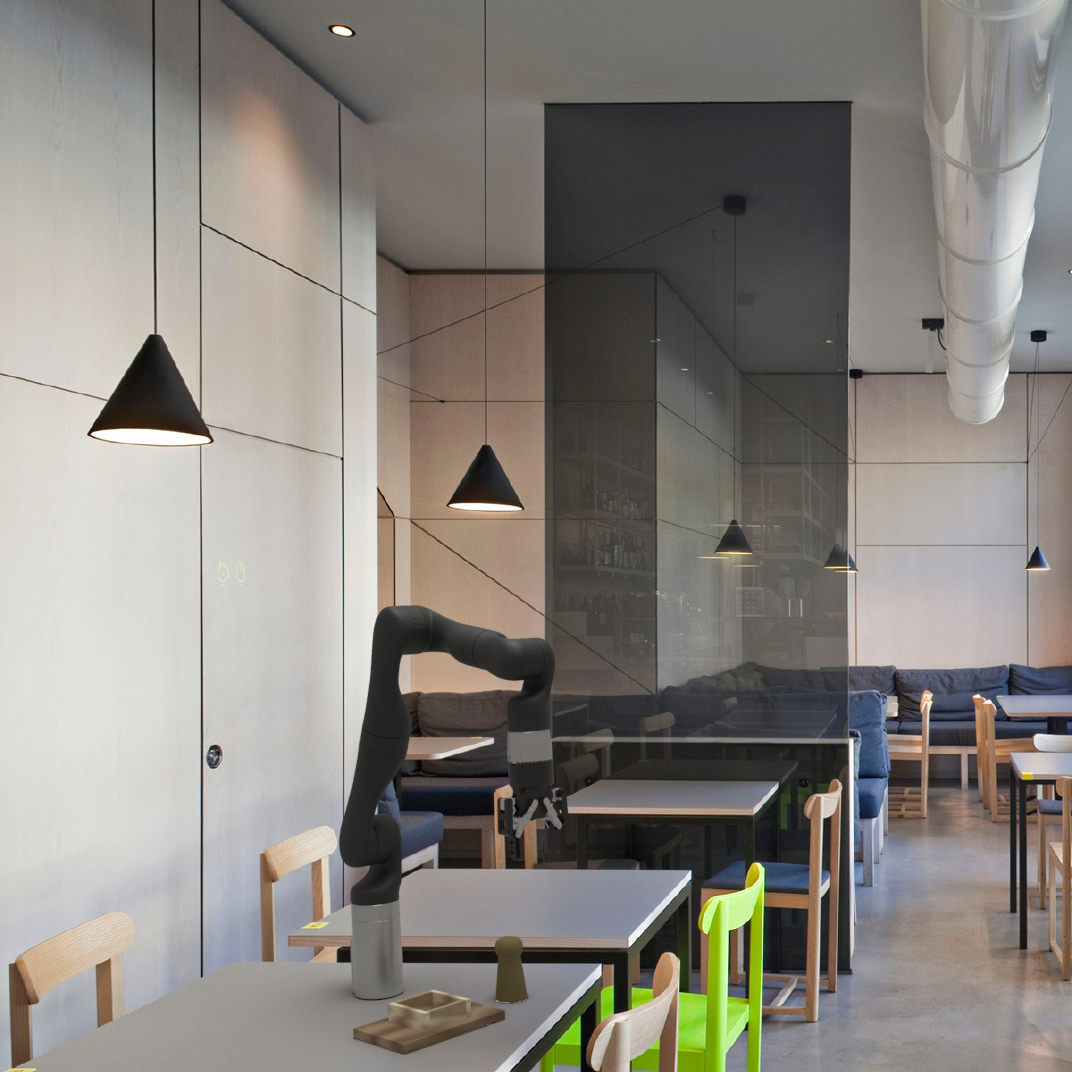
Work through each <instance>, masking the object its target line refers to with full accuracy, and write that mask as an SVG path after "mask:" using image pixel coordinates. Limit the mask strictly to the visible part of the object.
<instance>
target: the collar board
mask: <svg viewBox="0 0 1072 1072" xmlns="http://www.w3.org/2000/svg"><path fill="white" fill-rule="evenodd" d="M387 1010H388V1011H387V1012H388V1017H385V1018H382V1019H379V1020H375V1021H372V1022H370V1023H366V1024H364V1025H360V1026H357V1027H354V1028H353V1029H352V1030H353V1032H352V1034H353V1039H355V1038H356V1039H355V1040H359V1039H360V1040H359V1041H362V1040H363V1041H362V1042H365V1041H366V1042H365V1043H369V1044H372V1045H375V1046H378V1047H381V1048H384V1047H385V1049H387V1048H388V1049H387V1050H390V1051H393V1052H397V1053H400V1054H403V1055H407V1054H410V1053H414V1052H416V1051H418V1050H421V1048H422V1049H424V1047H425V1048H427V1047H430V1046H433V1045H436V1044H439V1043H441V1042H445V1041H446V1040H450V1039H453V1038H456V1037H458V1036H461V1035H464V1034H466V1033H465V1032H467V1033H469V1032H468V1031H470V1032H472V1031H473V1032H474V1031H475V1029H476V1030H478V1029H481V1028H483V1027H482V1026H484V1027H486V1026H485V1025H487V1024H490V1023H492V1022H495V1023H498V1022H500V1021H504V1020H506V1010H505V1009H502V1008H498V1007H495V1006H490V1005H485V1004H481V1003H478V1002H474V1001H471V998H469V997H463V996H461V995H456V994H451V993H450V992H449V993H448V992H445V991H440V990H436V989H431V990H430V989H429V990H427V991H424V992H420V993H417V994H415V995H411V996H409V997H405V998H402V999H399V1000H395V1001H392V1002H389V1003H387ZM503 1019H504V1020H503ZM490 1025H491V1024H490ZM487 1026H488V1025H487ZM480 1027H481V1028H480ZM463 1033H464V1034H463ZM415 1050H416V1051H415Z"/></svg>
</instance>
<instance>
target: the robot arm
mask: <svg viewBox="0 0 1072 1072" xmlns="http://www.w3.org/2000/svg"><path fill="white" fill-rule="evenodd" d="M424 653H444V654H449V655H450V656H451V657H452V658H453V659H454V660H455V661H457V662H458V663H461V664H462V665H466V666H469V667H471V668H474V669H475V668H476V669H479V670H482V671H483V670H484V671H487V672H488V673H490V675H493V676H494V677H496V678H498V679H501V680H504V681H510V682H520V681H523V682H522V686H521V690H520V692H519V693H517V694H515V695H514V696H513V695H512V696H511V697H510V698H508V700H507V702H506V722H507V723H506V725H507V743H506V748H507V749H506V751H507V752H506V754H507V767H508V768H507V769H508V770H507V771H508V785H509V787H510V788H511V790H512V794H511V797H498V798H497V803H496V804H497V805H496V806H497V810H496V811H497V813H496V814H497V833H498V835H499V836H500V835H501V836H505V837H507V839H508V853H509V857H510V859H511V861H514V862H521V861H523V860H524V848H523V847H524V846H523V837H521V836H522V834H523V831H524V829H526V827H527V826H528V825H529V823H530V822H532V821H535V820H537V819H540V820H542V821H543V823H544V824H545V826H546V827H547V829H546V840H547V841H546V843H547V851H548V852H549V853H554V854H555V853H558V852H560V850H561V846H562V844H561V843H562V842H561V841H562V840H561V829H562V826H563V825H564V826H565V824H566V825H567V824H569V822H570V817H569V808H568V806H569V805H568V796H567V790H566V788H565V787H564V788H563V787H552V785H554V784H555V778H554V777H555V776H554V775H555V773H554V758H553V744H552V737H551V731H550V717H549V715H550V714H549V702H550V701H549V700H550V697H551V694H552V693H551V692H552V687H553V681H554V677H555V671H556V658H555V653H554V650H553V647H552V646H551V644H550V643H549V642H548V641H547V640H546V639H544V638H542V637H525V638H523V637H521V638H520V637H519V638H508V637H507V636H506V635H505V634H504V633H501V632H499V631H496V630H492V629H489V628H484V627H481V626H476V625H472V624H471V625H470V624H465V623H462V622H459V621H455V620H453V619H451V618H448V617H446V616H444V615H443V614H441V613H438V612H436V611H434V610H432V609H431V608H428V607H425V606H423V605H419V604H418V605H416V604H411V605H409V604H408V605H405V604H404V605H391V606H385V607H383V608H382V609H381V610H380V611H379V612H378V615H377V617H376V619H375V622H374V626H373V632H372V643H371V656H370V657H371V658H370V669H369V671H370V674H369V681H368V689H367V696H366V703H365V708H364V709H365V710H364V715H363V720H362V725H361V729H360V737H359V741H358V749H357V751H358V752H357V758H356V763H355V768H354V773H353V778H352V784H351V789H350V791H349V792H350V793H349V797H348V800H347V804H346V807H345V811H344V815H343V818H342V821H341V825H340V829H339V839H338V846H339V847H338V849H339V854H340V857H341V860H342V861H343V863H344V864H345V865H346V866H347V867H349V868H353V869H354V868H356V869H357V868H358V869H359V868H363V867H364V868H365V867H369V868H368V871H367V873H365V875H364V876H363V878H361V879H360V880H359V881H357V883H355V884H354V885H353V886H351V889H350V911H351V931H352V932H351V933H352V935H351V936H352V940H351V941H350V943H349V947H350V965H351V966H350V967H351V969H350V970H351V988H352V990H351V991H352V993H354V995H355V997H357V998H358V999H359V998H360V999H363V1000H379V999H380V1000H381V999H386V998H387V999H389V998H392V997H395V996H398V995H400V994H401V993H403V992H404V990H405V989H404V970H403V969H404V967H403V966H404V965H403V963H404V962H403V947H402V944H403V943H402V942H403V941H402V929H401V928H402V925H401V906H400V905H401V904H400V889H401V885H402V882H403V881H402V880H403V841H402V834H401V829H400V826H399V823H398V822H397V820H396V819H395V817H394V816H393V815H392V814H389V813H376V811H377V807H378V805H379V802H380V801H381V800H380V799H381V797H382V796H383V795H384V793H385V791H386V789H387V788H388V786H389V785H390V784H391V783H392V781H393V780H394V778H395V777H396V775H397V774H398V772H399V771H400V770H401V767H402V766H403V764H404V762H405V761H406V758H407V755H408V749H409V745H410V738H411V733H412V719H411V714H410V711H409V709H408V706H407V704H406V701H405V699H404V697H403V694H402V692H401V689H400V683H399V681H400V679H399V678H400V677H399V676H400V667H401V662H402V658H403V656H408V655H419V654H420V655H421V654H424Z"/></svg>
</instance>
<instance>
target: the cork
mask: <svg viewBox="0 0 1072 1072" xmlns="http://www.w3.org/2000/svg"><path fill="white" fill-rule="evenodd" d="M494 943H495V944H494V952H495V954H496V956H497V966H496V968H497V969H496V983H495V984H496V985H495V986H496V987H495V996H494V998H495V999H496V1000H498V1001H500V1002H510V1003H511V1004H515V1003H514V1002H519V1001H523V1000H525V999H527V998H528V999H529V994H528V990H527V985H526V979H525V974H524V968H523V963H522V958H521V954H522V953H523V949H524V945H523V941H522V939H521V938H520V937H518V936H514V935H506V936H501V937H499V938H497V939H496V940H495V942H494ZM495 999H494V1000H495ZM528 999H527V1000H528ZM525 1001H526V1000H525ZM523 1002H524V1001H523ZM519 1003H520V1002H519Z"/></svg>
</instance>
